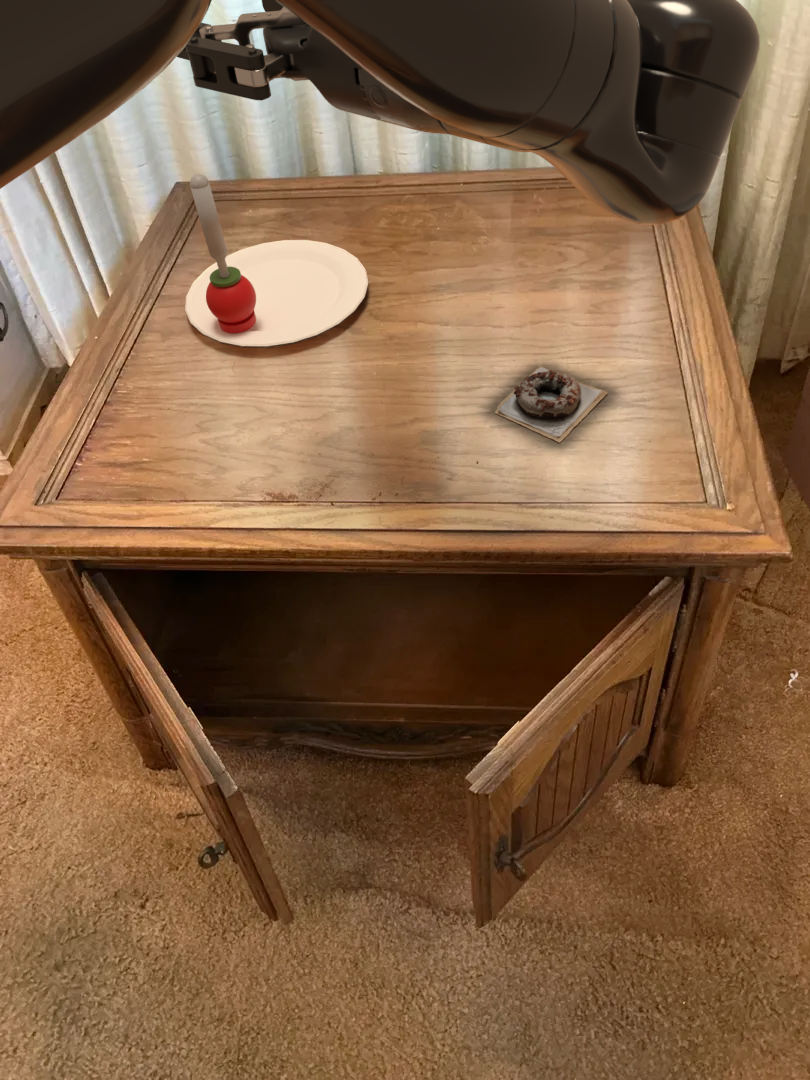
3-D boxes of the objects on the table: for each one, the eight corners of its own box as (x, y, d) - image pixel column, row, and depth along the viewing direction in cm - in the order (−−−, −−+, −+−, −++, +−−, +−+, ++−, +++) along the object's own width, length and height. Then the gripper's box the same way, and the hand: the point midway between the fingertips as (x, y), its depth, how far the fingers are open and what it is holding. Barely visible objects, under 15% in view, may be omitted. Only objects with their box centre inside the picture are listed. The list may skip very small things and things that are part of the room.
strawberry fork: (222, 342, 89) (177, 194, 77) (208, 317, 93) (163, 171, 80) (268, 327, 91) (231, 178, 78) (253, 303, 94) (215, 156, 81)
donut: (539, 366, 85) (540, 349, 84) (607, 394, 82) (609, 377, 80) (491, 411, 81) (490, 395, 80) (559, 443, 78) (561, 426, 76)
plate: (229, 245, 105) (226, 233, 104) (390, 256, 101) (389, 243, 99) (157, 348, 93) (152, 335, 91) (337, 366, 88) (335, 353, 87)
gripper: (475, -56, 51) (280, -83, 58) (316, 26, 44) (119, -16, 51) (477, 77, 56) (300, 38, 64) (337, 168, 50) (157, 112, 57)
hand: (219, 14), depth 57 cm, fingers open, 8 cm apart
